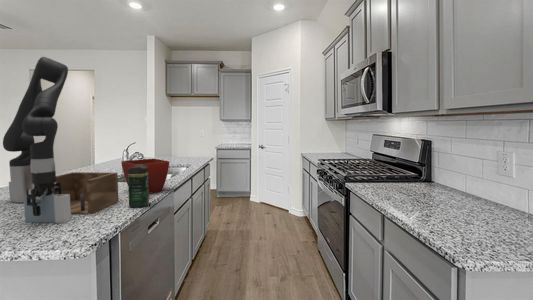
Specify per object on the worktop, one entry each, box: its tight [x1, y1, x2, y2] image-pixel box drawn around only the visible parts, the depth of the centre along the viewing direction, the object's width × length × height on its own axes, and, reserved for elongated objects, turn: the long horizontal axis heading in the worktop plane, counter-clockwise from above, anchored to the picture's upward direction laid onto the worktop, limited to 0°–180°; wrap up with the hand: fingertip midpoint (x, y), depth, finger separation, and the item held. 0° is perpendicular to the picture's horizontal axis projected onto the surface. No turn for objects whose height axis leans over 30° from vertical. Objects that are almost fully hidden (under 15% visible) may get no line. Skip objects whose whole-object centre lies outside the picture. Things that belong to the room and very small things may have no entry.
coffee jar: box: [128, 165, 150, 209], centre depth 139 cm, size 10×8×19 cm
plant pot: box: [121, 158, 170, 194], centre depth 168 cm, size 19×19×17 cm
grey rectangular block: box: [23, 194, 72, 224], centre depth 117 cm, size 16×4×10 cm, turn 87°
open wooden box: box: [55, 171, 119, 215], centre depth 136 cm, size 22×21×14 cm
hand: (46, 212), depth 117 cm, fingers open, 8 cm apart
